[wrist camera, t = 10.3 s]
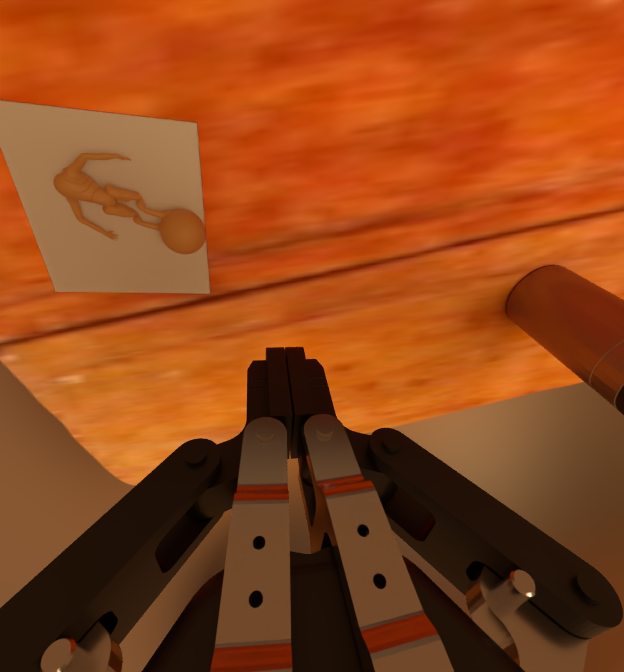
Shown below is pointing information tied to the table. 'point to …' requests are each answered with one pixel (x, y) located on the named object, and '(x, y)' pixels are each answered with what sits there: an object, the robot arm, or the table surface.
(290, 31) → the table surface
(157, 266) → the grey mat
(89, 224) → the figurine
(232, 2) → the table surface
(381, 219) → the table surface
